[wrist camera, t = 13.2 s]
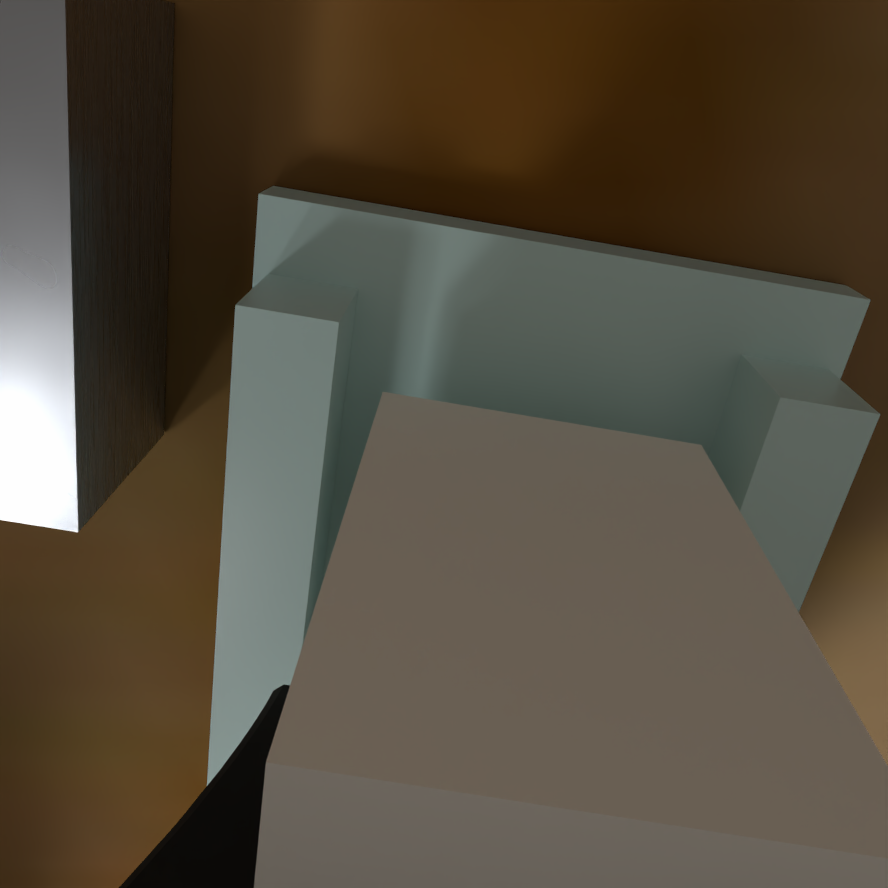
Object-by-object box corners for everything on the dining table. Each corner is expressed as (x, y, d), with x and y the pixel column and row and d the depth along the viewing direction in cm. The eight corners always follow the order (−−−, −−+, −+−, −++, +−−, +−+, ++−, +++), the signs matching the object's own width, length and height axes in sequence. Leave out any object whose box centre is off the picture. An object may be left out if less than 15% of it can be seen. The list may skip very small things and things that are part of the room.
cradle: (628, 877, 16) (650, 1000, 14) (226, 815, 16) (186, 931, 14) (846, 285, 12) (931, 335, 9) (273, 185, 11) (222, 212, 9)
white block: (561, 883, 14) (612, 1430, 8) (319, 846, 13) (207, 1375, 8) (701, 444, 10) (947, 868, 5) (382, 391, 10) (265, 763, 5)
